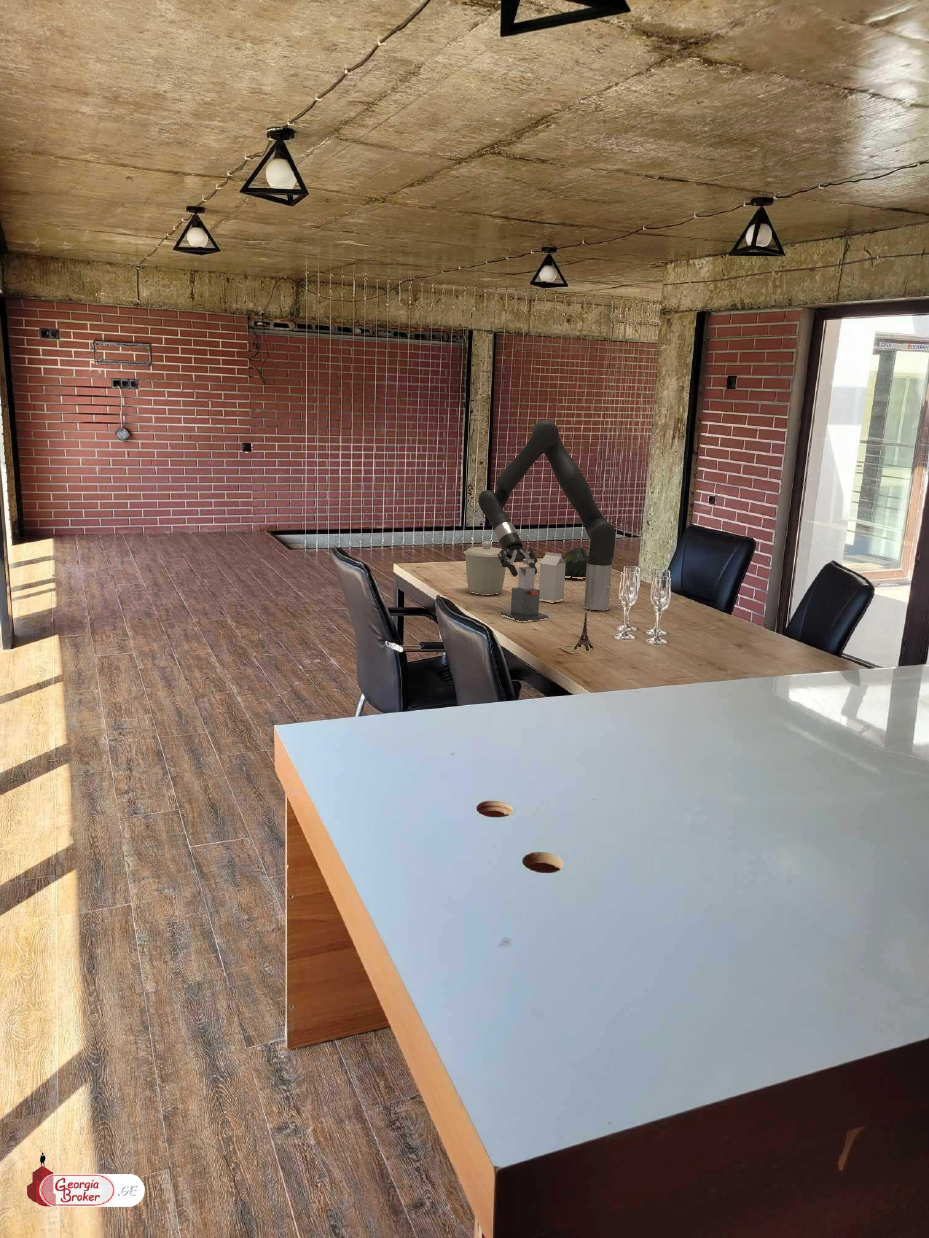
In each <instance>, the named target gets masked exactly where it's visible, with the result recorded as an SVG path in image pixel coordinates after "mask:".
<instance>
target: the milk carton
mask: <svg viewBox="0 0 929 1238" xmlns="http://www.w3.org/2000/svg"><path fill="white" fill-rule="evenodd" d="M562 555H563V554H562V553H556V552H549V551H545V555H544V556H543V558H542V560H541V561H540V565H539V578H538V579H539V581H538V590H540V595H539V599H543V600H551V601H556V600H560V599H563V600H564V596H565V595H564V594H565V582H566V581H565V580H566V579H565V565H566V563H565V562H564V560H563V558H562Z"/></svg>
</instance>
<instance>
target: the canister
mask: <svg viewBox="0 0 929 1238" xmlns="http://www.w3.org/2000/svg"><path fill="white" fill-rule="evenodd" d="M501 550H502V548H501V547H500V548H499V547H492V542H490V541H489V540H485V541H483V542H482V546H476V547H469V548H468V549H466V550H464V551H463V554H464V555H465V568H466V569H465V570H466V572H465V573H466V582H467V588H468V591H469V592H470V593H471V592H474V593H478V594H496V593H499V592H500V593H501V592H502V590H503V587H504V583H505V578H506V577H505V576H506V571H507V567H505V568H504V567H503V566H502V564H501V562H500V559H499V557H498V554H499V552H500V551H501ZM506 558H507V559H509V558H508V557H506ZM500 593H499V594H500Z"/></svg>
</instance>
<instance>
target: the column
mask: <svg viewBox="0 0 929 1238" xmlns="http://www.w3.org/2000/svg"><path fill="white" fill-rule="evenodd" d="M517 576H518V577H517V578H518V580H517V587H518V589H521V590H524V591H525V590H534V588H535V576H536V575H535V568H531V567H529V566H520V567H518V575H517Z"/></svg>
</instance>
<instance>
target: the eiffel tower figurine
mask: <svg viewBox="0 0 929 1238" xmlns="http://www.w3.org/2000/svg"><path fill="white" fill-rule="evenodd" d="M587 617H588V612H587V611H585V612H584V621H583V626H582V627H583V628H582V632H581V635H580V638H579V639H578V641H577V643H576V644H575V645H576V646H575V647H574V646H573V647H574V651H575V650H576V649H577V647H581V645H582V644H583V645H584V646H585V648H586V651H589V648H592V649H593V648H594V647H593V646H592V645H591V644H592V643H591V639H589V635H588V628H587V626H588V624H587V623H588V618H587ZM588 645H589V646H588ZM565 647H572V646H565ZM565 653H566V654H568V653H567V652H565Z"/></svg>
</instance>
